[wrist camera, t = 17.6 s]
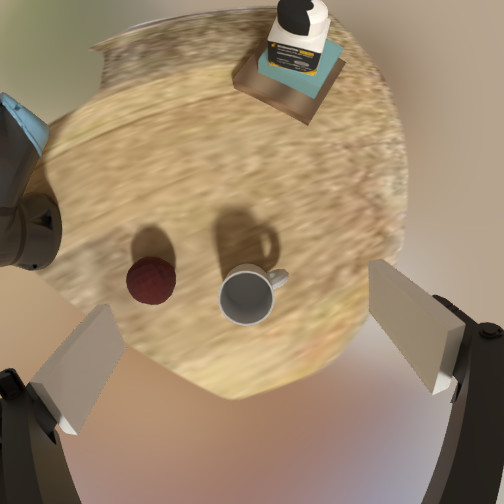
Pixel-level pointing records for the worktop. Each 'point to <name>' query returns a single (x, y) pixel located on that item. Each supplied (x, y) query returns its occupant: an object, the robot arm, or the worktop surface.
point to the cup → (249, 293)
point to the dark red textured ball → (151, 280)
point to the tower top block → (301, 80)
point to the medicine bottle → (298, 35)
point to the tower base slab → (282, 88)
